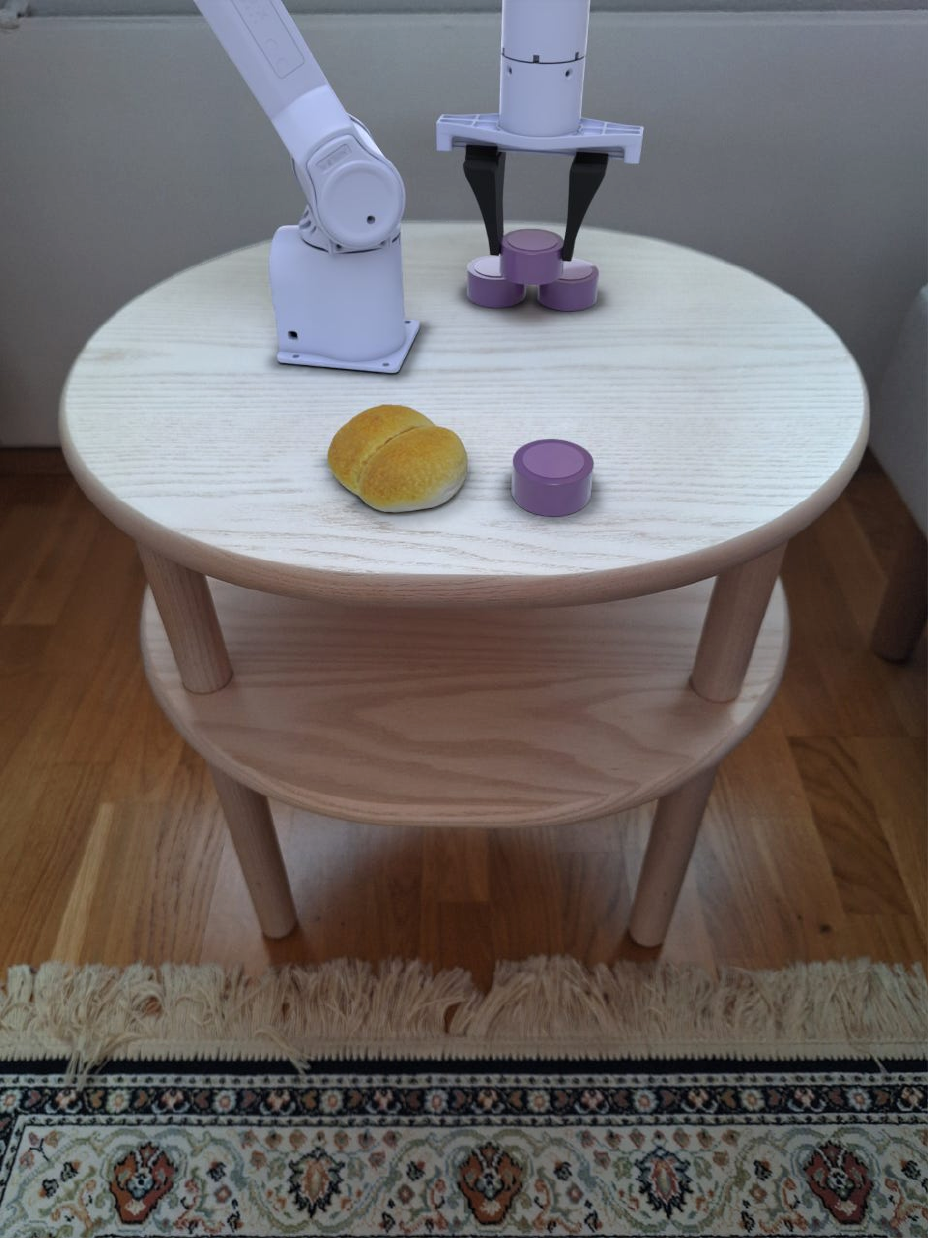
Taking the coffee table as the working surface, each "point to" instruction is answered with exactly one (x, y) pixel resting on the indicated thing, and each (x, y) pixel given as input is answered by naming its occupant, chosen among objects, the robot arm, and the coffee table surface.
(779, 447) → the coffee table surface
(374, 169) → the robot arm
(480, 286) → the purple short cylinder
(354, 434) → the bread roll
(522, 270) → the plum dish
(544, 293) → the plum dish
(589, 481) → the plum dish front
